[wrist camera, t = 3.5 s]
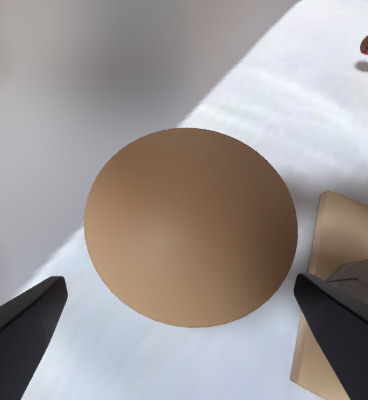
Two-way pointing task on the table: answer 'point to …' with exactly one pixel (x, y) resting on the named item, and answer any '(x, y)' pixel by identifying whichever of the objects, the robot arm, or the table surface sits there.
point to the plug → (190, 227)
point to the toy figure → (364, 46)
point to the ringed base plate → (336, 275)
